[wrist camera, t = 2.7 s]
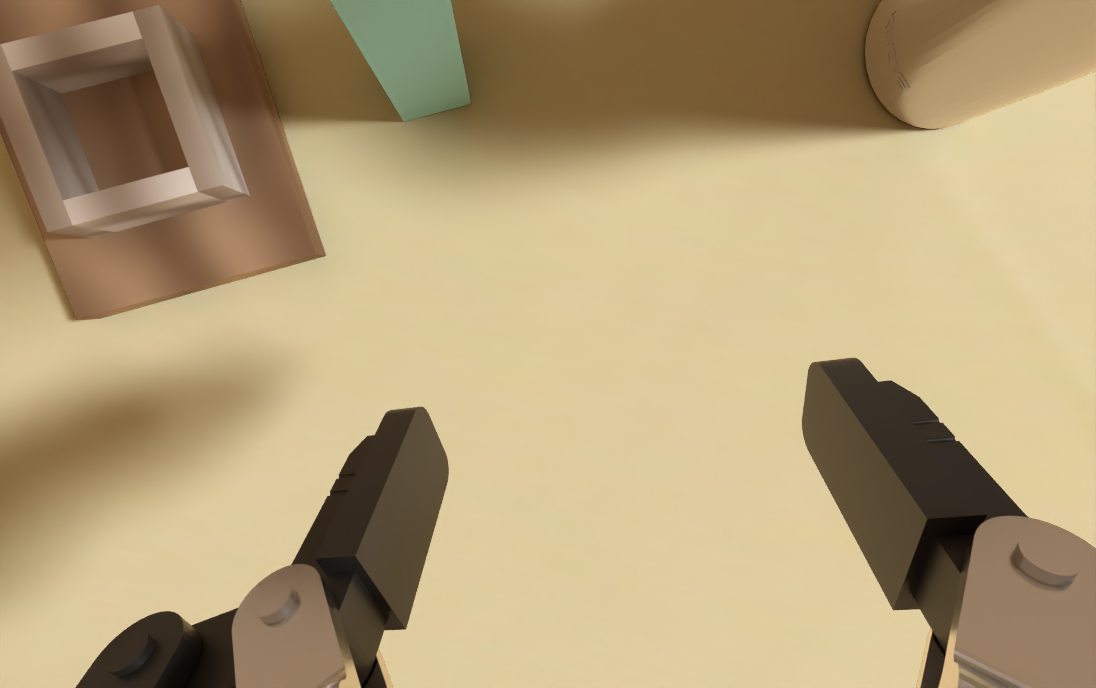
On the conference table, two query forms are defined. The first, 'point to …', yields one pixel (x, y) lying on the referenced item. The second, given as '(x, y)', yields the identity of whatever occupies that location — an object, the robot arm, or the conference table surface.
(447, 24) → the teal post
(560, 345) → the conference table surface
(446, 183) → the conference table surface
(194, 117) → the walnut socket plate
